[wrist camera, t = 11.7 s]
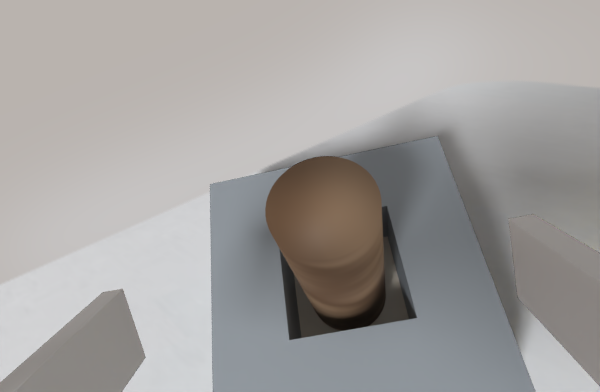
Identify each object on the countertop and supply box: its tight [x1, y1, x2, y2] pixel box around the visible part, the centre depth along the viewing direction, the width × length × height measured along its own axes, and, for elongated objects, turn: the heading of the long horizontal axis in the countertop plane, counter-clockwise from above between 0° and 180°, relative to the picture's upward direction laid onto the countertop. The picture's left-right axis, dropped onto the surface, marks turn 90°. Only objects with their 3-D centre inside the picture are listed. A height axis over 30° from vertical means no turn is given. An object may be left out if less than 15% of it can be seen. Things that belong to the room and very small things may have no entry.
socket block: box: [210, 136, 535, 392], centre depth 24 cm, size 14×14×6 cm
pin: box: [265, 156, 386, 331], centre depth 21 cm, size 4×4×11 cm
